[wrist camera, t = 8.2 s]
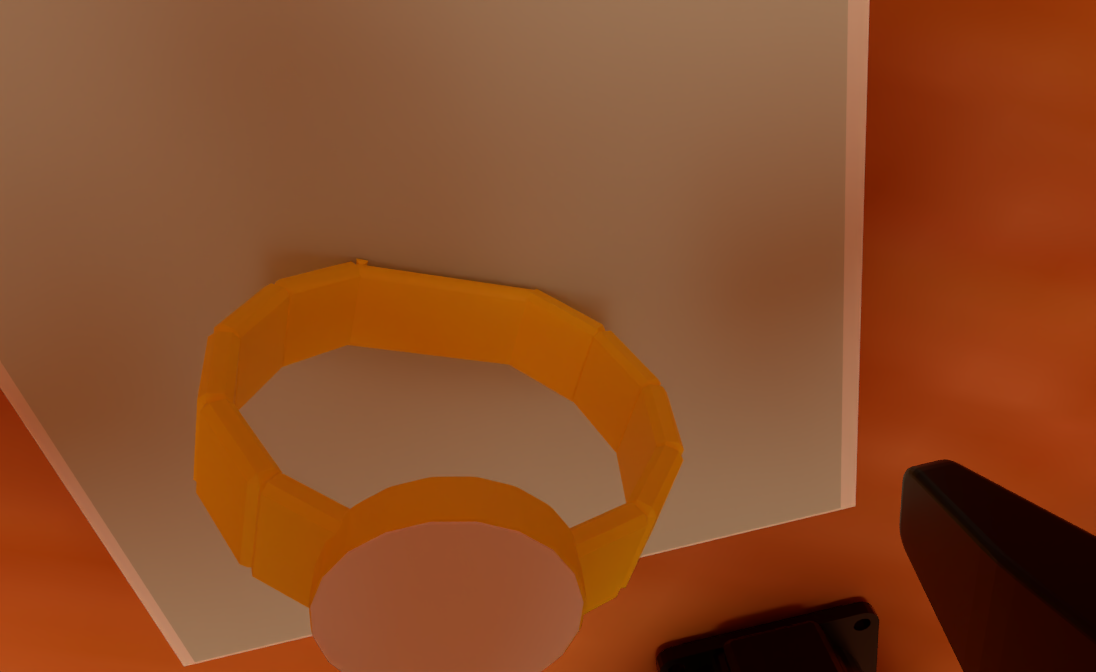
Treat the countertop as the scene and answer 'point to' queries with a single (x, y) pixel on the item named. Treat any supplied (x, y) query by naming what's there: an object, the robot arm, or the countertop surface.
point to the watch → (435, 502)
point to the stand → (429, 252)
